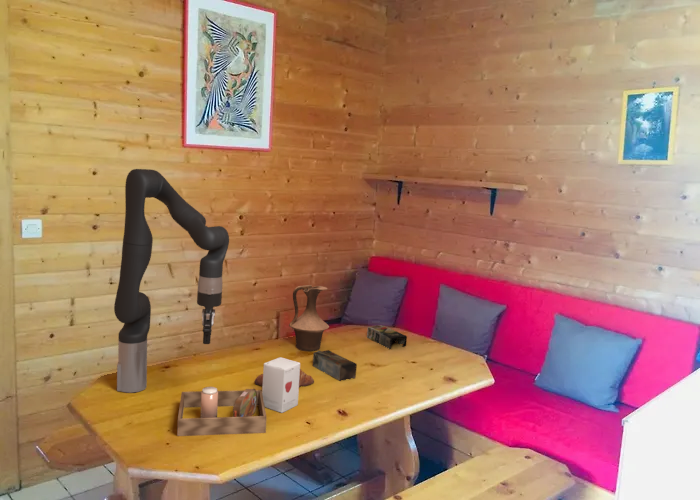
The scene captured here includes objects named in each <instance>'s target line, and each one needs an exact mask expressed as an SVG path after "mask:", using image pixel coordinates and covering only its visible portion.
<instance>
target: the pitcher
mask: <svg viewBox="0 0 700 500" xmlns="http://www.w3.org/2000/svg"><path fill="white" fill-rule="evenodd" d="M301 290H302V291H303V293H304V294H305V295H306V305H305V306H306V307H305V309H304V311H303V312H302V313H301V314H300V315H299V305H298V300H297V294H298V292H299V291H301ZM328 290H329V288H328V287H327V286H322V285H315V286H313V285H312V284H307V285H299V286H296V287H295V288H294V289H293V291H292V300H293V301H292V302H293V305H294V316H293V319H292V321H290V322H289V325H288V326H289V327H290V328H292V329H293V331H294V333H295V334H294V336H295V348H296V349H297V350H300V351H305V352H318V351H320V349H321V343H322V340H323V339H322V338H323V334H324V331H326V330H328V329H329V328H330V326H329V324H328V323H327V322H325V321H324V320H323V319H322V318H321V317H320V315H319V313H318V310H317V299H318V296H319V294H320V293H321V292H323V291H328Z"/></svg>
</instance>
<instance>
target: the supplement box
mask: <svg viewBox="0 0 700 500" xmlns="http://www.w3.org/2000/svg"><path fill="white" fill-rule="evenodd" d="M300 369H301V362H298V361H295V360H291V359H288V358H284V357H281V356H280V357H277V358H274V359H272V360H269V361H266V362H264V363H263V373H262V374H263V386H261V387H262V389H261V390H262V395H263V401H264V406H265V409H266V408H267V409H269V410H271V411H275V412H278V413H281V414H282V413H283V414H284V413H285V412H287V411H288V410H292V409H293V408H295V407H296V406H298V405H299V390H300V389H299V388H300V387H299V376H300Z"/></svg>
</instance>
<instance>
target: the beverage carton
mask: <svg viewBox="0 0 700 500" xmlns="http://www.w3.org/2000/svg"><path fill="white" fill-rule="evenodd" d="M357 365H358V364H357V363H356V362H354V361H353V360H352V361H351V360H350V359H347V358H346V357H344V356H341V355H339V354H337V353H335V352H333V351H332V350H329V349H327V350H317V351H313V357H312V367H314V368H315V369H317V370H319V371H320V372H322V373H324V372H325V374H326V375H329V376H331V377H332V378H334V379H335V380H338V381H340V382H342V381H341V380H343V381H347V380H346V379H349V380H352V379H351V378H353V379H356V377H357Z"/></svg>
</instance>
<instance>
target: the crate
mask: <svg viewBox="0 0 700 500" xmlns="http://www.w3.org/2000/svg"><path fill="white" fill-rule="evenodd" d="M245 390H246V389H245ZM245 390H217V391H218V407H234V403H235V401H236V399H237V398H238V397H239V396H240V395H241V394H242V393H243V392H244V391H245ZM255 390H256V392H257V406H258V409H259V416H258V415H256V416H255V415H252V416H250V417H233V416H223V417H218V416H217V418H201V417H189V418H188V417H187V418H185V417H184V411H185V409H184V408H201V392H202V390H200V391H181V395H180V401H179V408H178V409H179V410H178V416H177V434H176V435H177V436H176V437H186V436H216V435H219V436H220V435H240V434H241V435H242V434H245V435H246V434H266V433H267V413H266V407H265V406H264V401H263V395H262V389H255ZM183 417H184V418H183Z"/></svg>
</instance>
